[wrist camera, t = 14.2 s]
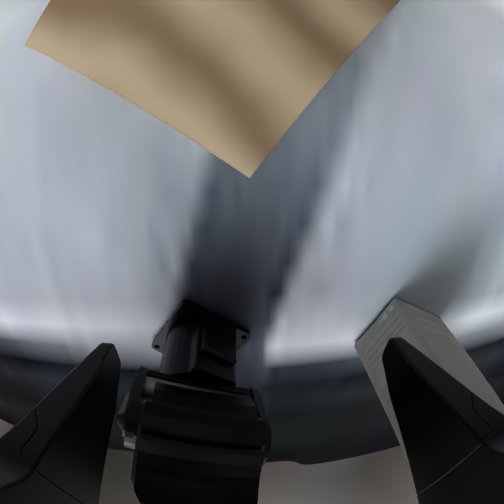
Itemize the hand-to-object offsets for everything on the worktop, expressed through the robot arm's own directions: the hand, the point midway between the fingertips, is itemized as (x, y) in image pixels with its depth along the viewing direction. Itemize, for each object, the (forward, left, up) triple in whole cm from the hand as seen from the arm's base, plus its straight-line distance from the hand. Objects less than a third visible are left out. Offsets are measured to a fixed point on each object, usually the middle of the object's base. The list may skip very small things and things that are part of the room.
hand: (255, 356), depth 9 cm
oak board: (+12, +10, -13) cm, 20 cm away
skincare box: (-1, -20, -13) cm, 24 cm away
